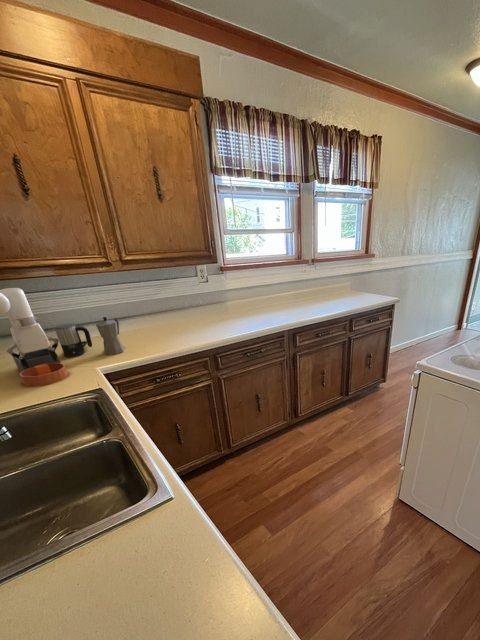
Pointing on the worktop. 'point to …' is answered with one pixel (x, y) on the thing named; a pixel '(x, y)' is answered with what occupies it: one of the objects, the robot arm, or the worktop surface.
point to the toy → (42, 369)
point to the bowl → (33, 379)
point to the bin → (36, 359)
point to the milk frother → (72, 339)
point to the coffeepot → (110, 336)
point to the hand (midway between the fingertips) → (41, 363)
